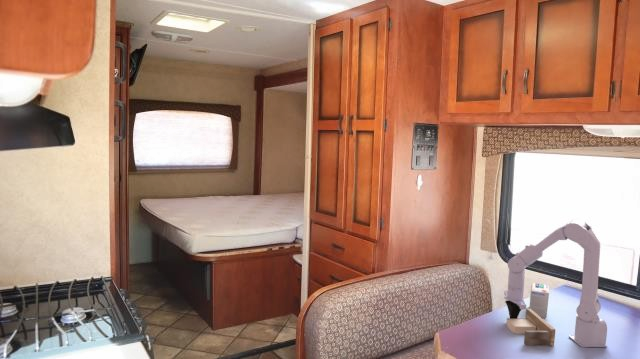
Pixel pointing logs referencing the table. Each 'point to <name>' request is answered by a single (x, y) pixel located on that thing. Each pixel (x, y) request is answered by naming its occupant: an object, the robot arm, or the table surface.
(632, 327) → the table surface
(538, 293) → the light bulb box
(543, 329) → the shelf
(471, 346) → the table surface
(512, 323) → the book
